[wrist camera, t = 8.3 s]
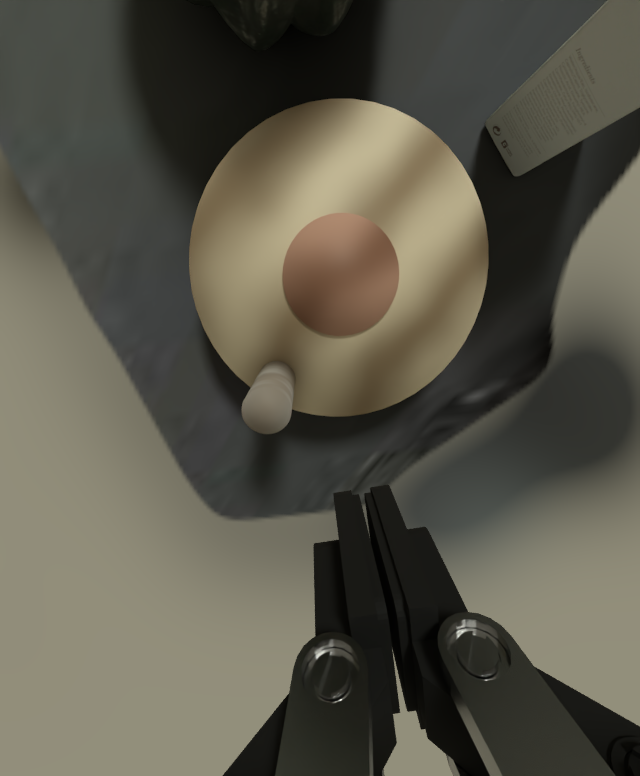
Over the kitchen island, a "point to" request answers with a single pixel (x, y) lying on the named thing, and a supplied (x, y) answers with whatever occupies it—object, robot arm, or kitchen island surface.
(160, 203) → the kitchen island surface
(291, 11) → the squash
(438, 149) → the turntable
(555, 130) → the skincare box
